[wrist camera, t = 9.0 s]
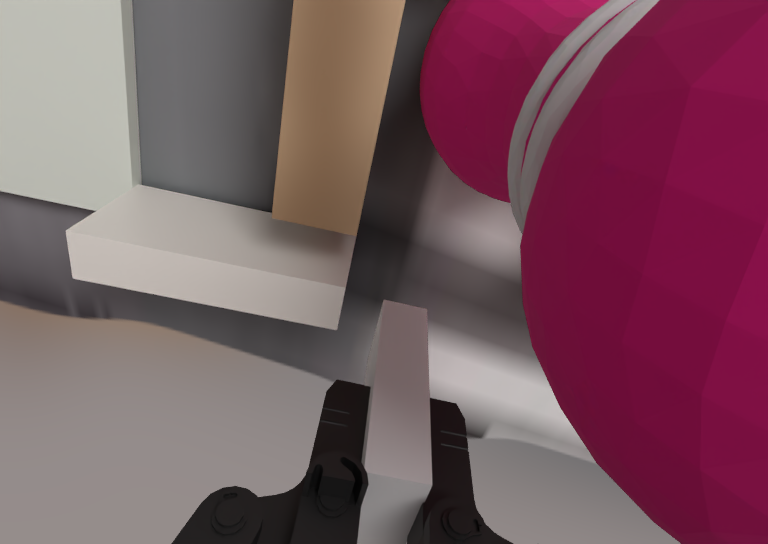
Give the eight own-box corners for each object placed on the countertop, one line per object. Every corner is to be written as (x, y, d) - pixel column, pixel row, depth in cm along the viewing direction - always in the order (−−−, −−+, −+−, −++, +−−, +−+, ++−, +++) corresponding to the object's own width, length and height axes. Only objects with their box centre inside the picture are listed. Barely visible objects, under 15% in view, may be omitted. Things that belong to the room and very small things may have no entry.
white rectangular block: (357, 231, 21) (345, 287, 17) (349, 267, 22) (336, 330, 18) (138, 184, 20) (65, 230, 16) (140, 224, 21) (72, 278, 17)
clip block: (824, -144, 14) (1008, -213, 10) (617, 244, 21) (672, 303, 17) (359, -284, 13) (337, -432, 9) (300, 174, 20) (271, 218, 16)
